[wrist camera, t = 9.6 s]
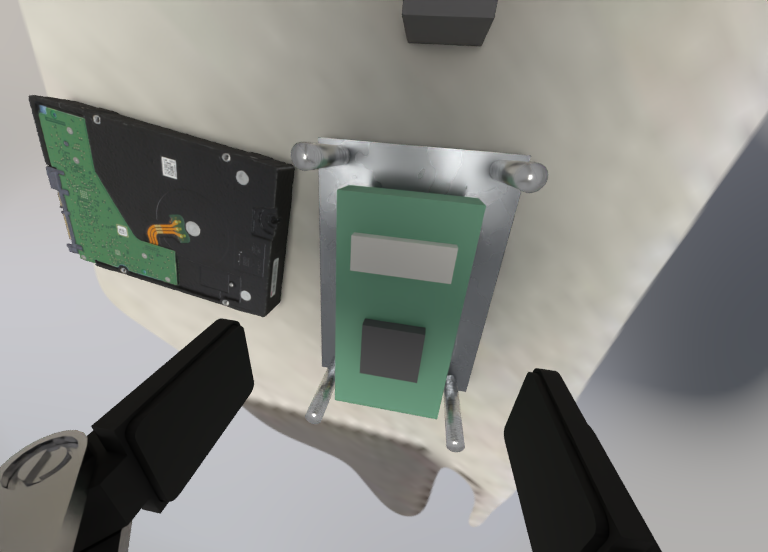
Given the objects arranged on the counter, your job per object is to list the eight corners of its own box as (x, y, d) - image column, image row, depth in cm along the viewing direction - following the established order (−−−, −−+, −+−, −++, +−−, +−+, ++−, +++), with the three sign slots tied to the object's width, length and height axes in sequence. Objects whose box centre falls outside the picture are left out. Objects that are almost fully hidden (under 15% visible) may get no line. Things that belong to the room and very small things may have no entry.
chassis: (324, 138, 16) (269, 130, 10) (524, 155, 15) (580, 156, 9) (326, 357, 22) (293, 423, 17) (464, 381, 21) (475, 459, 16)
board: (349, 184, 13) (332, 191, 11) (478, 197, 13) (489, 208, 10) (344, 375, 18) (331, 408, 16) (436, 391, 18) (437, 428, 15)
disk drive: (300, 161, 17) (77, 99, 18) (278, 162, 15) (18, 91, 15) (285, 300, 22) (107, 249, 22) (266, 320, 19) (66, 261, 19)
